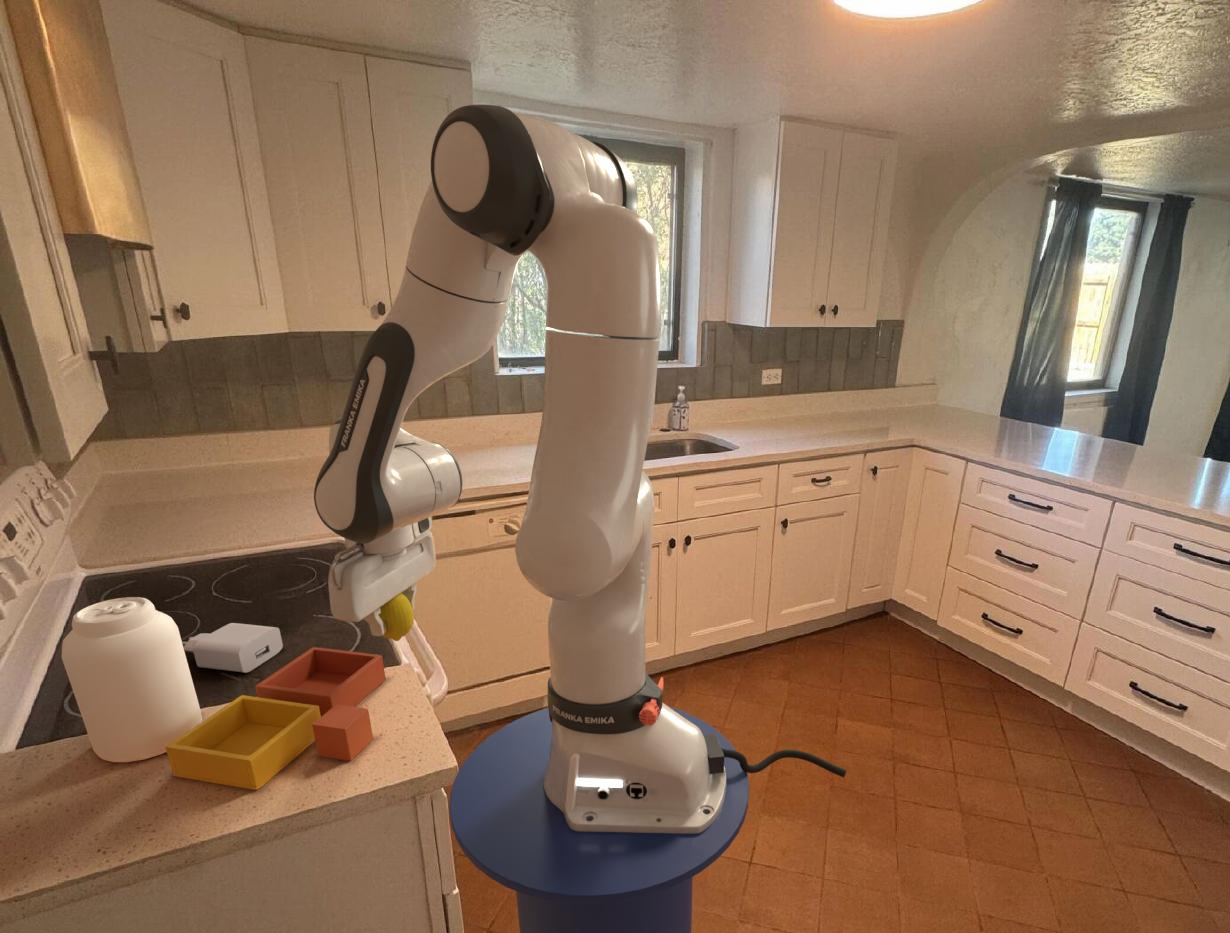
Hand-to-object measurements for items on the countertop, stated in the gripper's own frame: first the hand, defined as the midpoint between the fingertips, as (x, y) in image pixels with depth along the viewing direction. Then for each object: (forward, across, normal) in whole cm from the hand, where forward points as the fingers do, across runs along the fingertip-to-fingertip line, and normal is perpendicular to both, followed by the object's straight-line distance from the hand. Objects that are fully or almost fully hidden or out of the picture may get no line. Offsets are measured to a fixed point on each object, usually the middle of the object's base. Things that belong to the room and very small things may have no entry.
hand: (394, 623), depth 100 cm
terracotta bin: (+13, 0, +14) cm, 19 cm away
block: (+14, -11, +2) cm, 18 cm away
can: (+13, -16, +30) cm, 37 cm away
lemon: (+3, 0, 0) cm, 3 cm away
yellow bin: (+13, -16, +14) cm, 25 cm away
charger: (+13, +6, +38) cm, 41 cm away
